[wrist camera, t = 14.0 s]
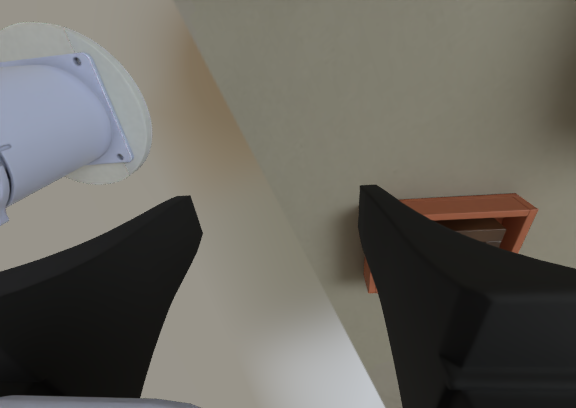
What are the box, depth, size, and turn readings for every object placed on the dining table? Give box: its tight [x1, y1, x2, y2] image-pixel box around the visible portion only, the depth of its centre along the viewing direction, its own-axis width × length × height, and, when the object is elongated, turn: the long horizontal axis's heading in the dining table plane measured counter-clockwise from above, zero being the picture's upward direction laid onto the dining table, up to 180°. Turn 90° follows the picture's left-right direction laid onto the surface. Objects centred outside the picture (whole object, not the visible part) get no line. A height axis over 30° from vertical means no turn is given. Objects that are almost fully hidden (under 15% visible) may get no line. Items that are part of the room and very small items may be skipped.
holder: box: [364, 193, 538, 293], centre depth 23 cm, size 12×9×2 cm
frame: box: [433, 218, 506, 248], centre depth 23 cm, size 9×6×2 cm, turn 96°
